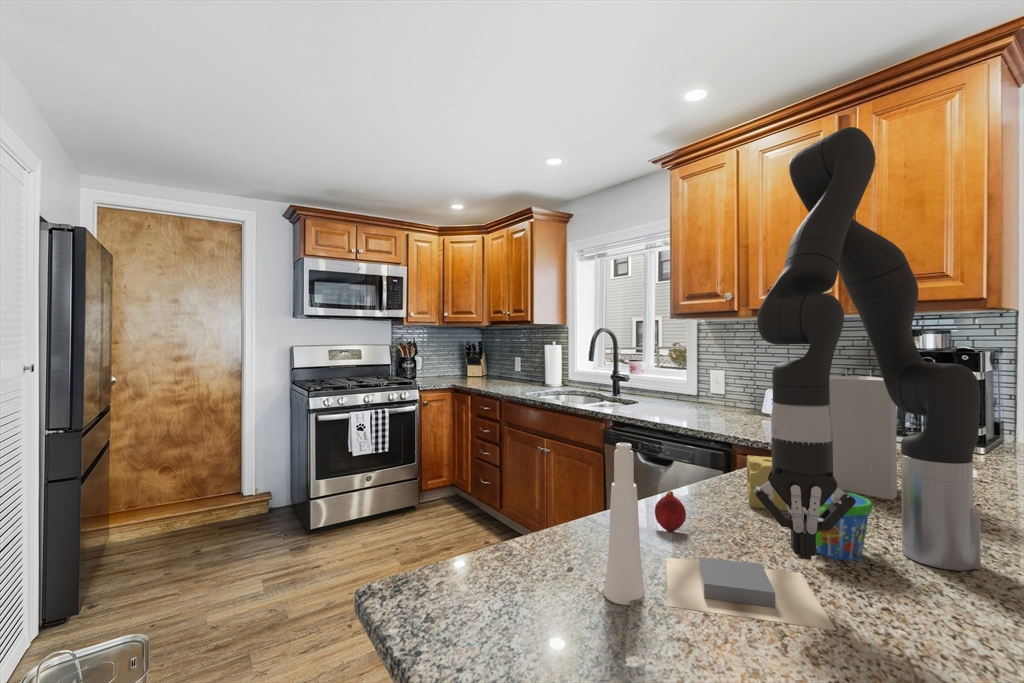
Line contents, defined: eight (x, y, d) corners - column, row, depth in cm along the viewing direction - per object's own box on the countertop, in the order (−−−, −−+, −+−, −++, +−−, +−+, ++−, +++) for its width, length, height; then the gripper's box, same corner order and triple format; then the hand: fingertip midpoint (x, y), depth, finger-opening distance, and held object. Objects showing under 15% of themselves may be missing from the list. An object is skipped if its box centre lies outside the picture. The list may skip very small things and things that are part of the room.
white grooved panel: (910, 488, 123) (909, 378, 124) (891, 500, 114) (890, 380, 115) (826, 473, 139) (825, 374, 139) (803, 482, 130) (802, 376, 130)
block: (761, 564, 74) (698, 557, 77) (775, 592, 66) (704, 583, 68) (761, 577, 74) (698, 570, 77) (775, 608, 66) (704, 598, 68)
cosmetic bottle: (611, 581, 75) (610, 438, 75) (650, 591, 72) (649, 442, 72) (597, 599, 70) (596, 445, 70) (639, 610, 67) (638, 449, 67)
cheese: (749, 508, 109) (748, 463, 109) (745, 494, 119) (745, 453, 119) (802, 513, 105) (802, 467, 105) (794, 499, 115) (794, 457, 115)
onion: (688, 539, 91) (687, 496, 92) (656, 537, 93) (656, 494, 93) (683, 527, 97) (683, 487, 97) (653, 525, 98) (653, 486, 98)
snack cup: (828, 536, 93) (828, 482, 93) (893, 557, 83) (892, 497, 83) (777, 553, 85) (776, 494, 85) (841, 578, 76) (840, 512, 76)
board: (800, 578, 76) (800, 572, 76) (836, 636, 61) (836, 630, 61) (666, 562, 82) (666, 557, 82) (668, 612, 66) (668, 606, 66)
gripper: (845, 432, 71) (847, 551, 71) (745, 429, 75) (747, 542, 75) (866, 442, 64) (868, 575, 64) (754, 438, 68) (756, 563, 68)
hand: (803, 557), depth 69 cm, fingers closed
